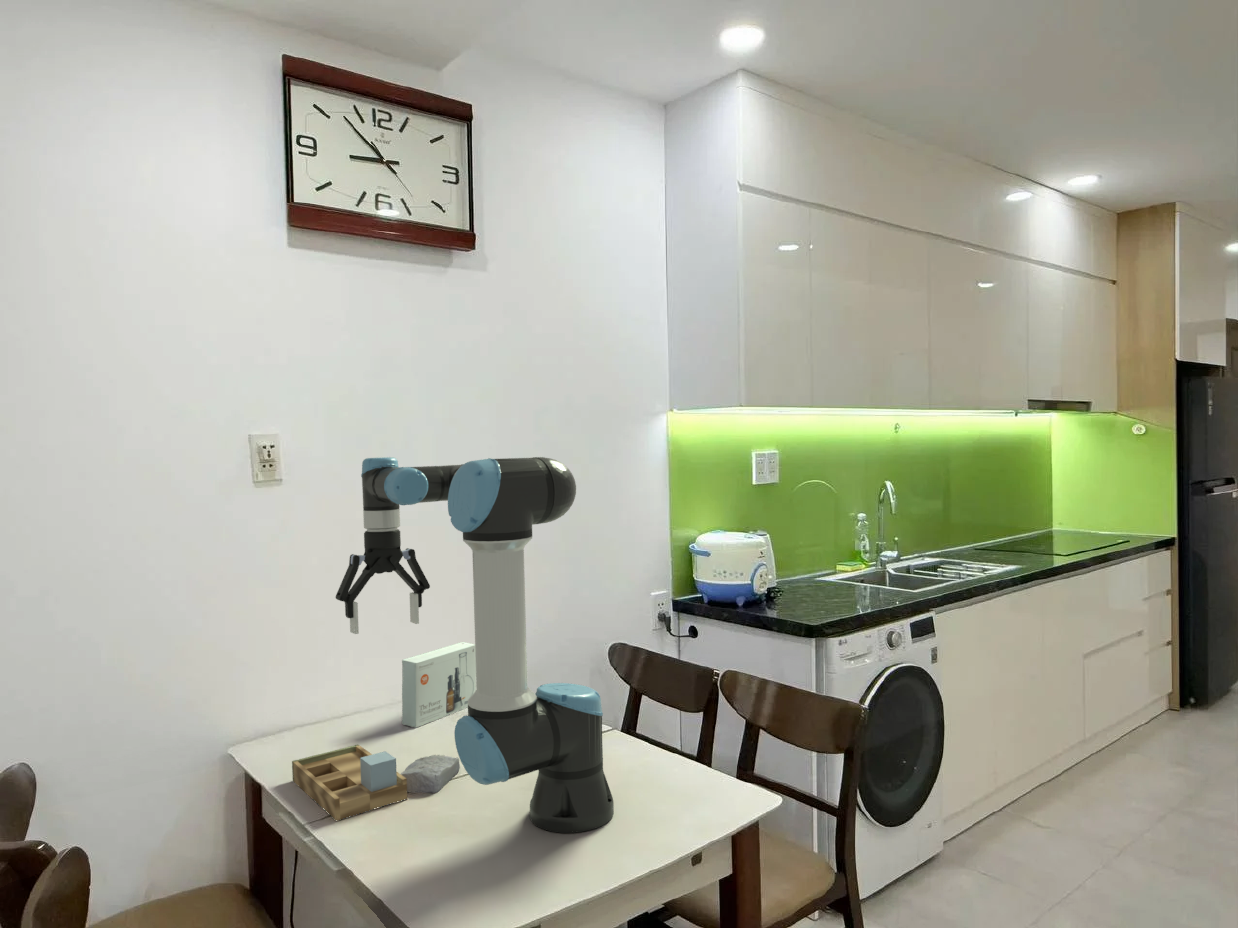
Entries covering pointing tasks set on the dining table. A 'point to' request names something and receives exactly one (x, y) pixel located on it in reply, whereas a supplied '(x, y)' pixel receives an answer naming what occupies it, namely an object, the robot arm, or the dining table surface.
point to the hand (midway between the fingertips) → (385, 627)
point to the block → (378, 771)
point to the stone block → (430, 773)
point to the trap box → (343, 783)
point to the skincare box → (437, 683)
